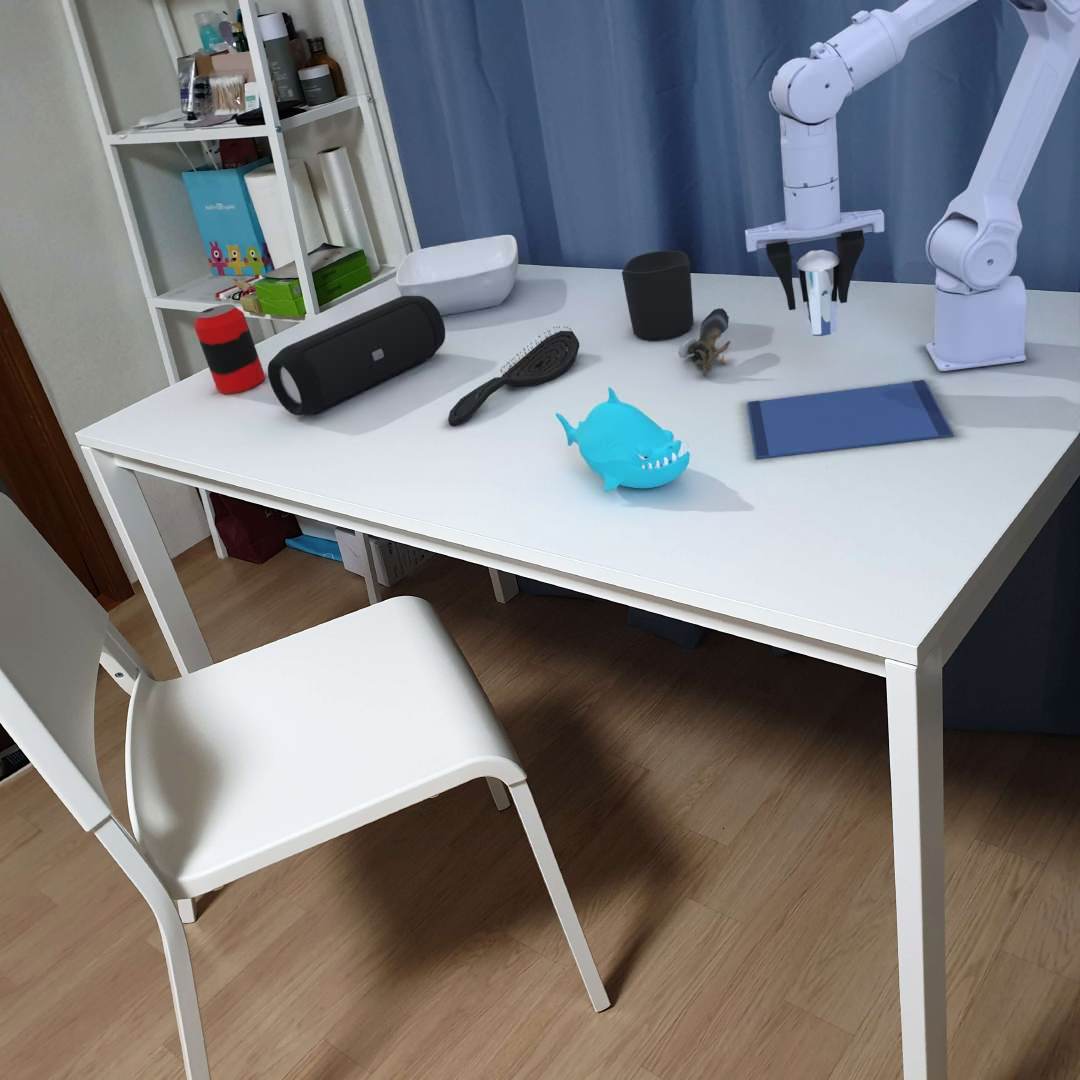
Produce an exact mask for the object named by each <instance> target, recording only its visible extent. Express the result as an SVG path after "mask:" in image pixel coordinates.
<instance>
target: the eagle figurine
mask: <svg viewBox="0 0 1080 1080" xmlns="http://www.w3.org/2000/svg"><path fill="white" fill-rule="evenodd" d="M729 320H730V316H729V315H728V313H727V311H726V310H725V309H724V308H715V309H713V310H712V311H711V312H710V313H709V314H708V315H707V316H706V317H705V318H704V319H703V320H702V322H701V323H700V330H699V337H698V340H696V339H695V338H694V337H691V338H689V339H687V340H686V341H684V343H682V344H681V345H680V346H679V348H678V352H677V353H678V356H679V358H681V359H682V358H687V356H690V355H694V356H696V357H697V359H698V360H695V361H694V364H696V365H698V364H701V365H702V367H703V371H702V372H703V374H702V375H703V377H707V374H708V373H709V371H711V368H712V365H713V363H714V361H715V360H716V361H718V362H722V363H724V364H727V361H726V359H725V356H724V355H723V354H722V353H723V352H725V351H726V350H727V349H729V346H730V344H731V340H727V341H726V342H725V344H724V345H722V346H721V347H720V348H718V349H717V346H716V341H717V340H718V339H720V338H721V337H722V335H723V334H724V333H725V332H727V330H728V329H729V323H730V321H729Z"/></svg>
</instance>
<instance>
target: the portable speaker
mask: <svg viewBox="0 0 1080 1080" xmlns="http://www.w3.org/2000/svg"><path fill="white" fill-rule="evenodd" d="M445 340H446V327H445V322H444V319H443V317H442V316H441V315H440V313H439V311H438V309H437V308H436V307H435V305H434V304H433V303H432V302H431V301H430V300H429V299H427V298H425V297H423V296H401V295H400V296H399V297H396V298H394V299H391V300H390V301H389V300H388V301H387V302H385V303H383V304H380V305H378V306H376V307H373V308H371V309H368V310H365V311H364V312H362V313H360V314H357V315H355V316H353V317H350V318H348V319H346V320H343V321H342V322H339V323H336V324H334V325H332V326H330V327H327V328H325V329H322V330H320V331H318V332H316V333H314V334H311V335H309V336H307V337H304V338H302V339H300V340H298V341H296V342H293V343H291V344H289V345H287V346H285V347H283V348H282V349H281V350H279V352H278V353H277V354H275V355H274V357H273V358H272V359H270V361H269V363H268V364H267V376H268V381H269V383H270V384H269V385H270V387H271V389H272V390H273V394H274V395H275V397H276V398H277V400H278V401H279V403H280V404H281V406H282V407H283V408H284V409H285V410H286V411H287V412H289V413H290V414H291V415H294V416H306V415H318V414H321V413H323V412H325V411H327V410H330V409H331V408H333V407H335V406H338V405H340V404H341V403H344V402H346V401H348V400H350V399H352V398H355V397H356V396H358V395H361V394H363V393H364V392H366V391H368V390H371V389H372V388H375V387H376V386H378V385H381V384H383V383H386V382H387V381H389V380H391V379H393V378H395V377H397V376H399V375H401V374H403V373H405V372H407V371H409V370H411V369H413V368H415V367H418V366H419V365H421V364H423V363H425V362H426V361H427V360H429V359H431V358H433V356H435V355H436V353H437V352H438V351H439V349H441V347H442V346H443V344H444V343H445Z"/></svg>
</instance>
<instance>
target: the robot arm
mask: <svg viewBox="0 0 1080 1080" xmlns="http://www.w3.org/2000/svg"><path fill="white" fill-rule="evenodd" d="M1006 1H1007V3H1009V4H1010V5H1011V6H1012V7H1013V8H1014V9H1015V10H1016V11H1017V14H1018V15H1019V18H1020V19H1021V22H1022V23H1023V26H1024V28H1025V30H1026V32H1027V34H1028V37H1027V41H1026V42H1025V46H1024V48H1023V51H1022V53H1021V56H1020V58H1019V61H1018V63H1017V65H1016V68H1015V71H1014V72H1013V75H1012V78H1011V80H1010V83H1009V84H1008V86H1007V87H1008V88H1007V90H1006V92H1005V95H1004V97H1003V100H1002V102H1001V104H1000V108H999V110H998V112H997V115H996V116H995V119H994V122H993V125H992V127H991V129H990V132H989V134H988V137H987V139H986V141H985V144H984V147H983V149H982V151H981V153H980V156H979V159H978V161H977V163H976V166H975V169H974V171H973V173H972V176H971V178H970V181H969V183H968V186H967V188H966V189H965V190H964V191H962V192H961V193H960V194H959V195H957V196H956V197H954V198H953V200H951V201H950V202H949V204H948V207H947V209H946V211H945V213H944V215H943V216H942V218H941V219H940V220H939V221H938V222H937V223H936V224H935V225H934V226H933V228H932V229H931V230H930V232H929V234H928V236H927V239H926V242H925V253H926V257H927V259H928V261H929V263H930V264H931V265H932V266H933V267H935V269H936V270H935V271H936V273H935V279H934V282H935V287H934V289H935V291H934V292H935V293H934V295H935V296H934V300H935V301H934V342H928V343H925V349H926V351H927V352H928V354H929V356H930V358H931V359H932V361H933V363H934V365H935V366H936V368H937V370H938V371H939V372H948V371H957V370H965V369H973V368H980V367H989V366H995V365H996V366H997V365H1004V364H1012V363H1013V364H1014V363H1020V362H1021V363H1022V362H1024V361H1026V360H1027V356H1026V354H1025V350H1026V349H1025V348H1026V330H1027V311H1028V304H1027V301H1028V300H1027V291H1026V287H1025V283H1024V281H1023V279H1022V277H1020V275H1011V273H1012V272H1013V271H1014V268H1015V266H1016V262H1017V259H1018V252H1017V251H1018V250H1017V249H1018V247H1017V245H1018V240H1019V237H1020V235H1021V233H1022V230H1023V223H1022V218H1021V215H1020V211H1019V206H1018V202H1019V199H1020V197H1021V195H1022V194H1023V193H1022V192H1023V190H1024V187H1025V185H1026V183H1027V181H1028V178H1029V176H1030V174H1031V172H1032V170H1033V167H1034V165H1035V162H1036V160H1037V158H1038V155H1039V153H1040V151H1041V148H1042V146H1043V144H1044V141H1045V139H1046V137H1047V134H1048V132H1049V130H1050V128H1051V126H1052V123H1053V121H1054V118H1055V116H1056V114H1057V111H1058V109H1059V106H1060V104H1061V101H1062V99H1063V98H1064V95H1065V92H1066V90H1067V88H1068V85H1069V83H1070V81H1071V79H1072V76H1073V74H1074V71H1075V69H1076V67H1077V65H1078V63H1079V61H1080V0H1006ZM976 2H978V0H907V1H905V3H903V4H902V5H900V6H899V7H898V8H896V9H894V11H888V10H884V9H881V8H875V9H873V10H872V11H870V12H869V11H867V10H860V11H859V12H857V13H855V14H854V15H853V16H851V21H852V24H850V25H849V26H847V27H846V28H844V29H843V30H842V31H840V32H838V33H837V34H836V35H834V36H833V37H831V38H829V39H828V40H826V42H824V43H823V42H820V41H817V42H815V43H814V44H813V45H811V46H810V47H809V50H810V55H809V57H796V58H793V59H792V58H791V59H790V60H788V61H787V62H785V63H784V64H783V65H782V66H781V67H780V68H779V69H778V70H777V75H775V76H774V79H773V82H772V86H771V90H770V91H768V97H769V102H770V104H771V106H772V107H773V109H774V110H775V111H776V112H777V113H778V114H779V128H780V153H781V168H782V169H781V170H782V183H783V197H784V211H785V213H784V214H785V220H783V221H778V222H775V223H771V224H768V225H767V224H766V225H764V226H759V227H755V228H750V229H749V228H748V229H745V230H744V235H745V236H744V237H745V247H746V252H747V253H750V252H756V251H758V249H765V251H766V255H767V259H768V260H769V262H770V264H771V266H772V267H773V269H774V271H775V272H776V274H777V276H778V278H779V280H780V282H781V285H782V287H783V290H784V293H785V296H786V300H787V301H786V302H787V307H788V311H795V310H796V308H797V307H796V298H795V290H794V283H793V265H792V261H793V260H792V259H793V258H792V256H791V254H792V253H791V254H790V252H791V247H790V245H791V244H799V243H804V242H812V241H818V240H824V239H825V240H826V239H832V238H835V242H836V252H837V253H836V256H837V257H838V258H839V277H838V288H837V299H838V300H839V303H840V304H845V303H847V302H848V295H849V291H850V290H849V289H850V285H851V281H852V277H853V274H854V271H855V268H856V265H857V263H858V262H859V261H858V260H859V258H860V256H861V254H862V252H863V250H864V248H865V243H866V240H865V237H864V234H865V233H871V232H873V233H875V234H878V233H884V232H885V213H884V212H883V210H882V209H880V208H879V209H872V210H862V211H860V210H859V211H846V212H841V198H840V197H841V196H840V178H839V177H840V175H839V174H840V173H839V152H838V131H837V113H838V112H839V111H840V109H841V107H842V105H843V103H844V100H845V98H848V97H850V96H851V95H853V94H854V93H856V92H857V91H859V90H860V89H862V88H863V87H865V86H866V85H868V84H870V83H871V82H872V81H874V80H875V79H877V78H879V77H880V76H881V75H883V74H884V73H886V72H887V71H890V70H891V69H892V68H894V67H895V66H897V65H898V64H900V63H901V62H902V61H903V59H904V57H905V55H906V52H907V49H908V47H909V44H910V42H911V41H912V40H914V39H916V38H918V37H919V36H921V35H922V34H924V33H926V32H927V31H929V30H931V29H932V28H934V27H936V26H938V25H939V24H941V23H942V22H944V21H945V20H948V19H949V18H951V17H953V16H954V15H956V14H957V13H959V12H961V11H963V10H964V9H966V8H967V7H969V6H971V5H972V4H974V3H976Z"/></svg>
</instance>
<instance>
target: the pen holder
mask: <svg viewBox="0 0 1080 1080" xmlns="http://www.w3.org/2000/svg"><path fill="white" fill-rule="evenodd" d="M691 275H692V274H691V263H690V258H689V256H688V254H686V253H685V252H684V251H680V250H658V251H651V252H646V253H642V254H639V255H637V256H634V257H632V258H631V259H630V260H629V261H627V263H626V264H625V265H624V267H623V269H622V272H621V276H622V281H623V288H624V292H625V298H626V302H627V308H628V314H629V318H630V323H631V329H632V332H633V334H634V336H635V337H636V338H637V339H640V340H643V341H651V342H652V341H653V342H654V341H665V340H671V339H675V338H677V337H680V336H683V335H685V334H686V333H688V332H689V331H691V329H692V327H693V326H694V307H693V306H694V303H693V292H692V291H693V290H692V276H691Z"/></svg>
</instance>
